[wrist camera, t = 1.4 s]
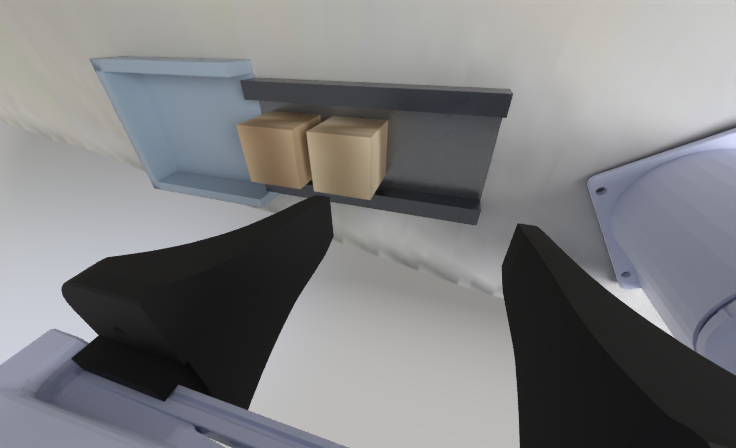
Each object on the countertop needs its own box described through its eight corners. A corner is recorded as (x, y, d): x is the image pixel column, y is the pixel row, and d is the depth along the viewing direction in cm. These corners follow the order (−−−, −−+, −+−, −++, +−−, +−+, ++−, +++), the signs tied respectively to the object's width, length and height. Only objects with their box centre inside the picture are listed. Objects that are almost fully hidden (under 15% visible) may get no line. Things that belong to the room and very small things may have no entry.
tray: (254, 59, 19) (224, 62, 17) (281, 191, 25) (262, 207, 23) (129, 56, 22) (89, 58, 20) (180, 175, 28) (154, 188, 26)
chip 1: (320, 114, 20) (291, 130, 16) (325, 167, 22) (300, 189, 19) (271, 110, 21) (236, 124, 17) (281, 161, 23) (251, 181, 20)
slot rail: (508, 87, 16) (513, 93, 14) (476, 210, 21) (476, 225, 19) (257, 76, 20) (239, 80, 18) (279, 181, 25) (266, 191, 23)
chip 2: (387, 120, 18) (370, 137, 15) (385, 174, 21) (370, 200, 17) (333, 115, 19) (306, 131, 16) (336, 168, 22) (313, 191, 18)
